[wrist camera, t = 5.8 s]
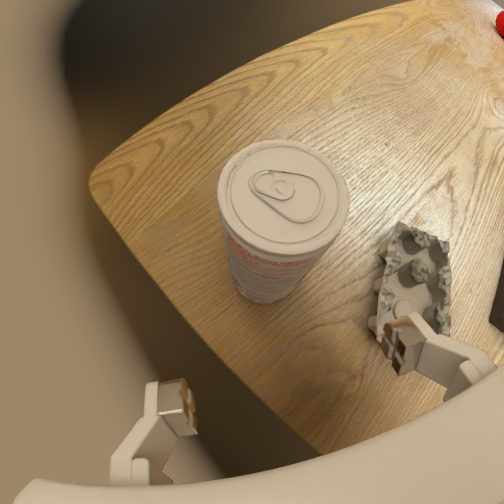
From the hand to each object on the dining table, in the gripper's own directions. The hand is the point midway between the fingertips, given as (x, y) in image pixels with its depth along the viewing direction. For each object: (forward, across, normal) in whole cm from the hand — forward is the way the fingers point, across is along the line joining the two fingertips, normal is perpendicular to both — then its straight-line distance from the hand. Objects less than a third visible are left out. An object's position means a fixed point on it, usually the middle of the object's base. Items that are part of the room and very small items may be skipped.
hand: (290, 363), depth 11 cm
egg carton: (+11, -14, +9) cm, 20 cm away
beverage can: (+15, -1, +6) cm, 16 cm away
